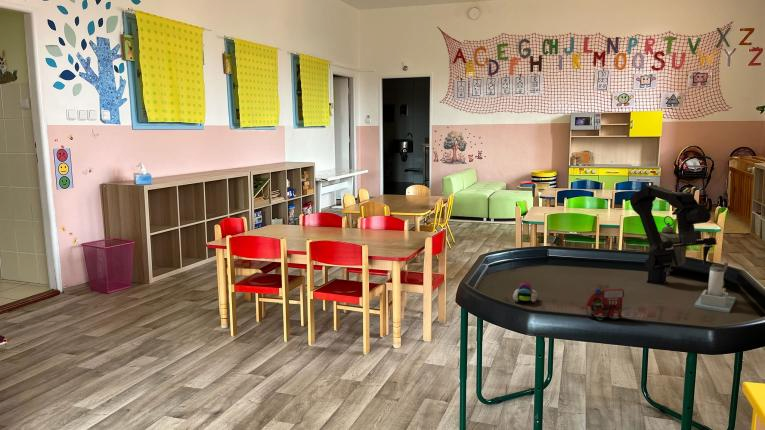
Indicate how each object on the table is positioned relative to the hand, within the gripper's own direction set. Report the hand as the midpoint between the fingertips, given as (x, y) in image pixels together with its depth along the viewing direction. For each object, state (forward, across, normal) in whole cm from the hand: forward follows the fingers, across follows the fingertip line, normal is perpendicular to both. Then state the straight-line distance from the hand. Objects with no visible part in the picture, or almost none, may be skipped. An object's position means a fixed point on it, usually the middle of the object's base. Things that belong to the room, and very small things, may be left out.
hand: (690, 266), depth 229 cm
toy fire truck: (+15, -31, -35) cm, 49 cm away
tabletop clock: (+3, -8, +35) cm, 36 cm away
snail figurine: (+10, +9, +14) cm, 20 cm away
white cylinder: (+14, +5, -9) cm, 17 cm away
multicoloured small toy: (+8, -59, -26) cm, 65 cm away
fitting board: (+14, +6, -6) cm, 16 cm away
